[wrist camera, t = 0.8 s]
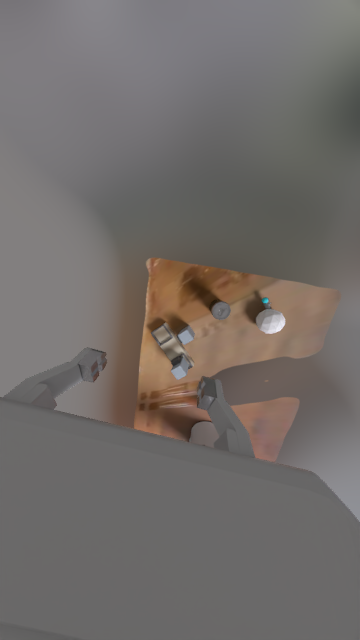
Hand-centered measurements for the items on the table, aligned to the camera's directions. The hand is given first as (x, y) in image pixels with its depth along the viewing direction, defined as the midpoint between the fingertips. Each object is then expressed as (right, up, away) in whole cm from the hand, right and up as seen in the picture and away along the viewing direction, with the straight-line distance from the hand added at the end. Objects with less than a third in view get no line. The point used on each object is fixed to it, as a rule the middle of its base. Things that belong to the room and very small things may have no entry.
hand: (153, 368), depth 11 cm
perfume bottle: (+32, +6, +36) cm, 49 cm away
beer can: (+16, +9, +39) cm, 43 cm away
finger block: (+5, -1, +42) cm, 42 cm away
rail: (-1, -7, +44) cm, 45 cm away
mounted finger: (+3, -13, +42) cm, 44 cm away
